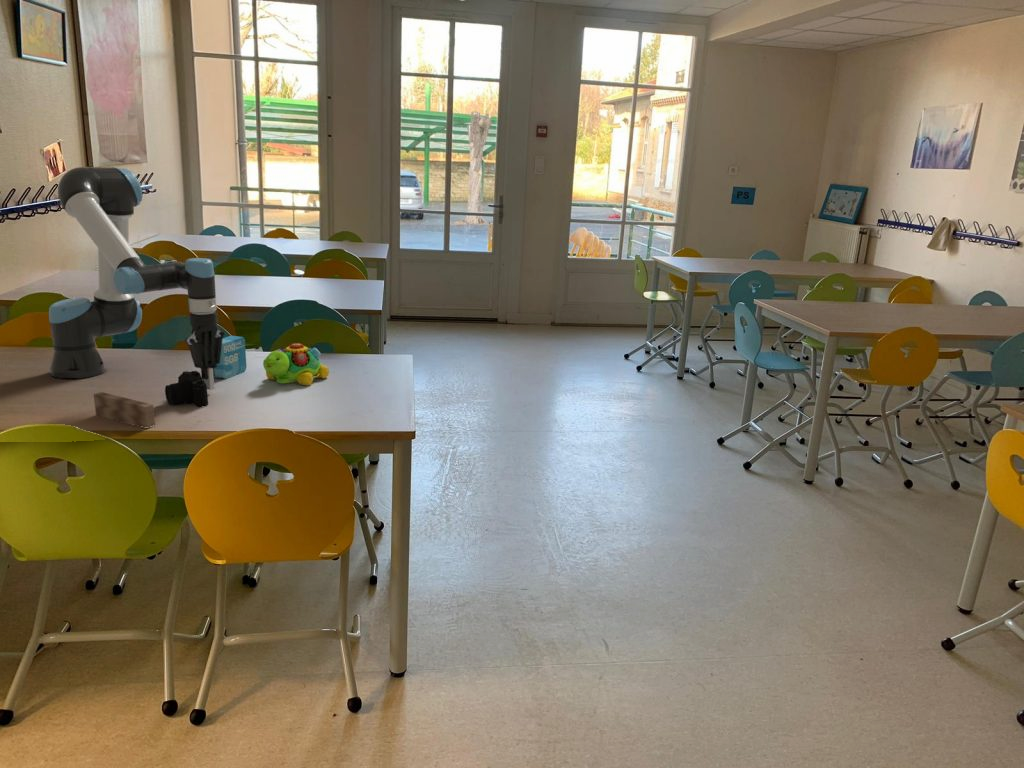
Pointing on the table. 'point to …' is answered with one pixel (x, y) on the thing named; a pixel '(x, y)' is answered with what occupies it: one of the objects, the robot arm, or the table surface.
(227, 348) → the data package
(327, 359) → the table surface
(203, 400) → the film camera
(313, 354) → the turtle toy
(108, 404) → the stone brick
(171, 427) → the table surface
